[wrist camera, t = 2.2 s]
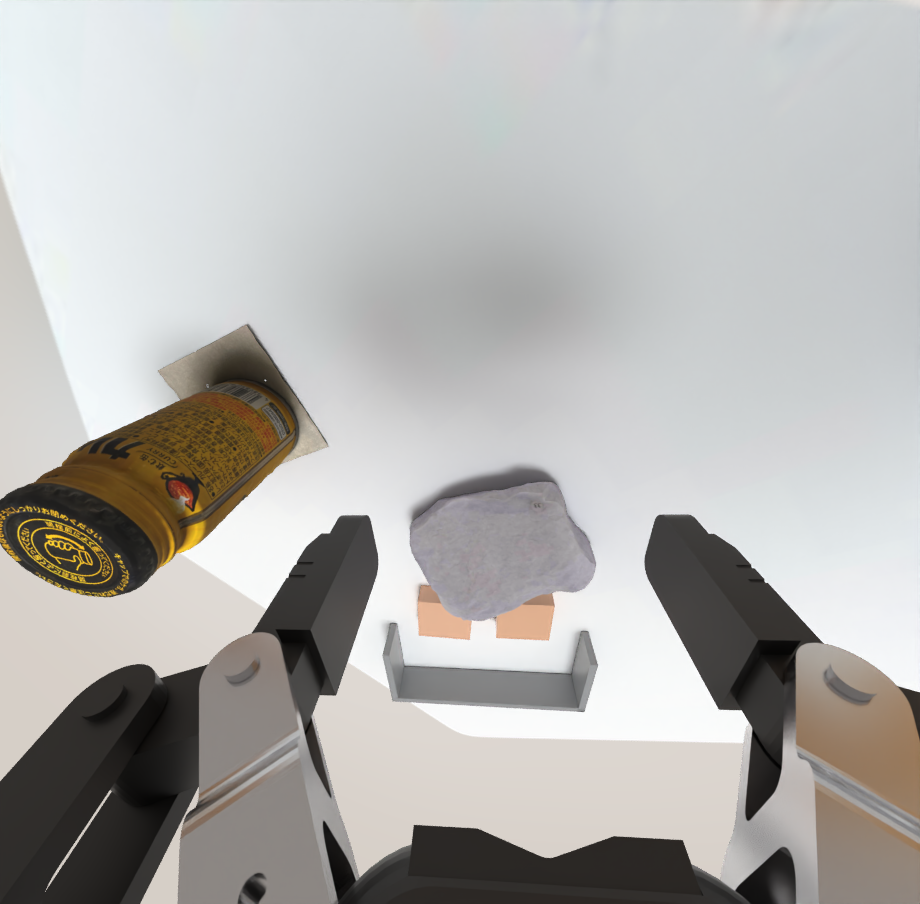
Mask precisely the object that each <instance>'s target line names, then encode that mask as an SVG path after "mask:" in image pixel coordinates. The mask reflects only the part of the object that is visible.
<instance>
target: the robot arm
mask: <svg viewBox="0 0 920 904" xmlns="http://www.w3.org/2000/svg"><path fill="white" fill-rule="evenodd" d="M377 570H378V553H377V549H376V544H375V539H374V535H373V530H372V525H371V521H370V518H369V516H367V515H345V516H340V517H339V518H338V520H337V522H336V524H335V525H334V527H333V529H332V531H331V532H330V534H321V535H319V536H318V537H317V538H316V539H315V540H314V541H312V542H311V543H310V544H309V545H308V546H307V547H306V548H305V550H304V551H303V553H302V554H301V556H300V558H299V559H298V561H297V565H295V566H294V567H293V569H292V570H291V572H290V574H289V578H286V580H285V582H284V583H283V585H282V586H281V588H280V590H279V591H278V593H277V594H276V596H275V598H274V599H273V601H272V602H271V604H270V605H269V607H268V609H267V610H266V612H265V614H264V615H263V617H262V618H261V620H260V622H259V623H258V625H257V626H256V628H255V629H254V631H253V632H252V634H249V635H245V636H243V637H241V638H238V639H237V640H235V641H233V642H231V643H230V644H228V645H227V646H226V647H224V648H223V649H222V650H221V651H220V652H219V653H218V654H217V655H216V656H215V657H214V658H213V659H212V660H211V661H210V663H209V664H208V665H205V666H202V667H198V668H194V669H191V670H187V671H184V672H180V673H177V674H174V675H170V676H167V677H163V678H159V676H158V675H157V674H156V673H155V671H154V670H153V669H152V668H151V667H150V666H147V665H144V664H143V665H142V664H136V665H130V666H126V667H123V668H121V669H118V670H115V671H114V672H111V673H109V674H107V675H106V676H104V677H102V678H100V679H99V680H97V681H96V682H95V683H93V684H92V685H90V686H89V687H88V688H86V689H85V690H84V691H83V692H81V693H80V694H79V695H78V696H77V697H76V698H75V699H74V700H73V701H72V702H71V703H70V704H69V705H68V706H67V707H66V708H65V710H64V711H63V712H62V713H61V714H60V715H59V716H58V717H57V719H56V720H55V721H54V722H53V723H52V724H51V725H50V726H49V728H48V729H47V730H46V731H45V732H44V733H43V734H42V735H41V736H40V738H39V739H38V740H37V741H36V742H35V743H34V744H33V745H32V747H31V748H30V749H29V750H28V751H27V752H26V753H25V754H24V756H23V757H22V758H21V759H20V760H19V761H18V762H17V763H16V764H15V766H14V767H13V768H12V769H11V770H10V771H9V772H8V773H7V775H6V776H5V777H4V778H3V779H2V780H1V781H0V904H140V903H141V901H142V899H143V897H144V894H145V893H146V891H147V889H148V886H149V885H150V883H151V881H152V878H153V877H154V875H155V873H156V871H157V869H158V867H159V865H160V863H161V861H162V859H163V857H164V855H165V853H166V851H167V849H168V847H169V845H170V843H171V841H172V838H173V837H174V835H175V833H176V830H177V829H178V826H179V824H180V823H181V821H182V818H183V817H184V815H185V813H186V811H187V808H188V807H189V805H190V803H191V801H192V799H193V797H194V795H195V793H196V791H197V788H198V787H199V799H198V803H197V806H196V808H194V809H193V810H191V811H190V812H189V813H188V814H187V815H186V818H185V820H184V823H183V827H182V831H181V838H180V854H179V882H178V904H920V692H916V691H912V690H909V689H905V688H902V687H898V686H896V685H895V683H894V682H893V681H892V680H890V679H889V678H888V677H887V676H886V675H885V674H884V673H882V672H881V671H880V670H878V669H877V668H876V667H874V666H873V665H871V664H870V663H868V662H867V661H865V660H864V659H862V658H860V657H858V656H856V655H854V654H852V653H850V652H848V651H846V650H843V649H841V648H838V647H835V646H832V645H828V644H824V643H823V642H822V641H821V640H820V639H819V638H818V637H817V636H816V635H815V634H814V633H813V632H812V631H811V630H810V628H809V627H808V626H807V625H806V624H805V623H804V622H803V621H802V620H801V619H800V618H799V616H798V615H797V614H796V613H795V612H794V611H793V610H792V609H791V608H790V607H789V606H788V605H787V603H786V602H785V601H784V600H783V599H782V598H781V597H780V596H779V595H778V594H777V593H776V591H775V590H774V589H773V588H772V587H771V586H770V585H769V584H768V583H765V582H764V578H763V577H762V576H761V575H760V574H759V573H758V572H757V571H756V570H755V569H754V568H751V564H750V563H749V562H748V561H747V560H746V559H745V558H744V557H743V555H742V554H741V553H740V552H739V551H738V550H737V549H736V548H735V547H733V546H732V545H730V544H729V543H727V542H726V541H724V540H723V539H721V538H720V537H718V536H717V535H715V534H708V532H707V531H706V530H705V529H704V528H703V527H702V526H701V524H700V523H699V522H698V521H697V520H696V519H695V518H694V517H693V516H692V515H658V516H657V517H656V519H655V522H654V525H653V529H652V533H651V536H650V540H649V544H648V547H647V551H646V554H645V570H646V574H647V577H648V579H649V582H650V583H651V585H652V587H653V589H654V591H655V593H656V594H657V596H658V598H659V600H660V602H661V604H662V605H663V607H664V609H665V611H666V613H667V615H668V617H669V618H670V620H671V622H672V624H673V626H674V628H675V629H676V631H677V633H678V635H679V637H680V639H681V640H682V642H683V644H684V646H685V648H686V650H687V651H688V653H689V655H690V657H691V659H692V661H693V663H694V664H695V666H696V668H697V670H698V672H699V674H700V675H701V677H702V679H703V681H704V683H705V685H706V686H707V688H708V690H709V692H710V694H711V696H712V698H713V699H714V701H715V703H716V705H717V707H718V709H719V710H742V711H743V713H744V715H745V716H746V718H747V720H748V721H749V724H748V726H747V727H746V730H745V736H744V746H743V755H742V764H741V774H740V784H739V793H738V803H737V812H736V820H735V826H734V830H733V834H732V837H731V840H730V842H729V845H728V848H727V850H726V854H725V857H724V862H723V867H722V871H721V878H720V880H719V879H717V878H716V877H714V876H712V875H710V874H708V873H707V872H705V871H703V870H702V869H700V868H698V867H696V866H694V865H692V864H691V862H690V859H689V857H688V854H687V851H686V848H685V845H684V843H683V840H669V839H652V838H634V837H616V836H614V837H611V838H608V839H605V840H602V841H600V842H597V843H594V844H591V845H588V846H586V847H583V848H580V849H577V850H574V851H571V852H568V853H566V854H563V855H560V856H557V857H554V858H544V857H541V856H538V855H536V854H534V853H531V852H529V851H527V850H525V849H523V848H520V847H518V846H516V845H513V844H511V843H509V842H506V841H504V840H502V839H500V838H498V837H495V836H493V835H491V834H489V833H486V832H484V831H482V830H479V829H474V828H455V827H440V826H439V827H438V826H422V825H414V829H413V839H412V845H409V846H406V847H403V848H401V849H399V850H397V851H395V852H393V853H392V854H389V855H388V856H386V857H384V858H383V859H382V860H380V861H379V862H378V863H377V864H375V865H374V866H373V867H371V868H370V869H369V870H368V871H367V872H365V873H364V874H363V875H362V876H361V877H359V874H358V870H357V866H356V863H355V859H354V855H353V852H352V848H351V845H350V842H349V838H348V835H347V832H346V829H345V826H344V823H343V821H342V818H341V815H340V812H339V809H338V806H337V803H336V799H335V795H334V791H333V788H332V784H331V780H330V777H329V772H328V769H327V765H326V761H325V758H324V754H323V750H322V746H321V742H320V738H319V735H318V731H317V727H316V723H315V719H314V716H313V711H314V709H315V705H316V703H317V701H318V698H319V695H336V694H337V691H338V688H339V685H340V682H341V679H342V676H343V673H344V670H345V667H346V664H347V661H348V658H349V655H350V653H351V650H352V647H353V644H354V641H355V638H356V635H357V632H358V629H359V626H360V623H361V620H362V617H363V614H364V611H365V608H366V605H367V602H368V599H369V596H370V594H371V591H372V588H373V585H374V582H375V579H376V575H377ZM109 790H111V791H112V792H111V794H110V795H109V797H108V798H107V800H106V801H105V803H104V804H103V806H102V807H101V809H100V810H99V812H98V813H97V815H96V816H95V818H94V819H93V821H92V822H91V824H90V825H89V827H88V828H87V830H86V831H85V833H84V835H83V836H82V837H81V839H80V840H79V842H78V844H77V845H76V847H75V848H74V849H73V851H72V853H71V854H70V856H69V858H68V859H67V860H66V862H65V863H64V865H63V866H62V868H61V869H60V871H59V872H58V874H57V875H56V877H55V878H54V880H53V881H52V883H51V884H50V886H49V887H48V889H47V890H46V888H47V886H48V884H49V882H50V880H51V878H52V876H53V875H54V873H55V871H56V870H57V868H58V867H59V865H60V864H61V862H62V861H63V859H64V858H65V856H66V855H67V853H68V852H69V850H70V849H71V847H72V846H73V844H74V843H75V841H76V840H77V838H78V837H79V835H80V834H81V832H82V831H83V829H84V828H85V826H86V825H87V823H88V822H89V820H90V819H91V817H92V816H93V814H94V813H95V811H96V810H97V808H98V807H99V805H100V804H101V802H102V801H103V799H104V798H105V796H106V795H107V793H108V792H109ZM45 891H46V892H45Z"/></svg>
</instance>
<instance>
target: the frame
mask: <svg viewBox="0 0 920 904" xmlns="http://www.w3.org/2000/svg"><path fill="white" fill-rule="evenodd" d="M383 660H384V664H385V669H386V673H387V678H388V682H389V687H390V691H391V696H392V700H393V701H398V702H416V703H434V704H452V705H470V706H488V707H506V708H524V709H541V710H559V711H577V712H584V711H585V708H586V704H587V701H588V698H589V694H590V691H591V687H592V684H593V681H594V677H595V674H596V670H597V667H598V664H597V660H596V657H595V653H594V650H593V646H592V643H591V639H590V636H589V632H584V631H582V632H581V636H580V640H579V645H578V649H577V653H576V657H575V662H574V666H573V670H572V674H553V673H533V672H512V671H492V670H472V669H451V668H431V667H411V666H404V661H403V655H402V650H401V644H400V638H399V632H398V626H397V624H390V628H389V632H388V636H387V640H386V644H385V648H384V652H383Z"/></svg>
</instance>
